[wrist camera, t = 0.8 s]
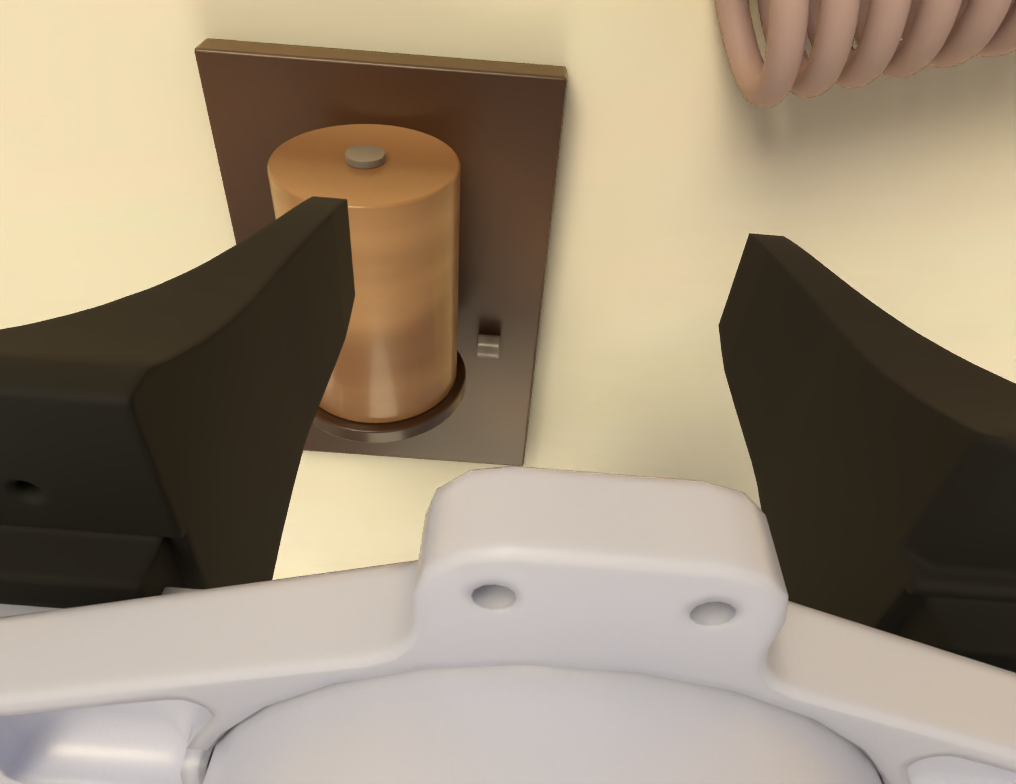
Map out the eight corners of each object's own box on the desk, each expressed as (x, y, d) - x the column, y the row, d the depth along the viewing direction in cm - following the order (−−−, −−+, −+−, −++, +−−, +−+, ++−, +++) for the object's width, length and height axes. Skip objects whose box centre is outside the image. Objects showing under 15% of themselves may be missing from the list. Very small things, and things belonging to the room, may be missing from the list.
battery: (457, 450, 21) (463, 213, 16) (274, 436, 21) (220, 194, 16) (472, 338, 25) (480, 119, 20) (317, 326, 25) (286, 104, 20)
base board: (523, 449, 30) (522, 481, 29) (286, 432, 30) (274, 464, 29) (567, 65, 20) (568, 88, 19) (205, 36, 20) (180, 58, 19)
